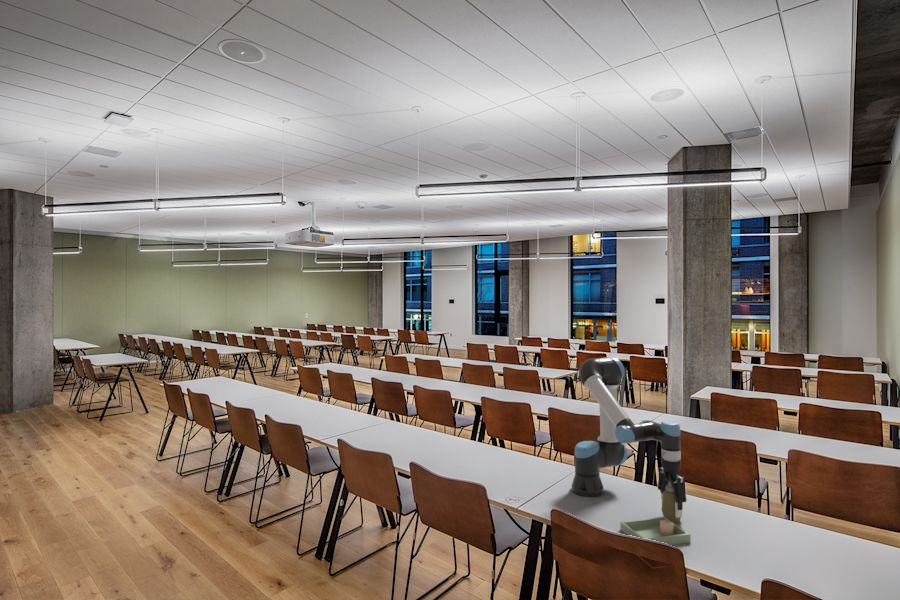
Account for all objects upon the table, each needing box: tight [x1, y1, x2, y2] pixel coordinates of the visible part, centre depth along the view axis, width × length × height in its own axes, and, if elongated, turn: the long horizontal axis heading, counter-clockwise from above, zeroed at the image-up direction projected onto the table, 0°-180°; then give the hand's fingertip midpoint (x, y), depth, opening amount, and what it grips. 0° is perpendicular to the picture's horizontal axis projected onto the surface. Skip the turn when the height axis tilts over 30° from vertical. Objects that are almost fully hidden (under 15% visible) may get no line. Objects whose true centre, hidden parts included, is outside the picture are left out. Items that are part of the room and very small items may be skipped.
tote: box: [619, 516, 691, 546], centre depth 195 cm, size 16×20×4 cm
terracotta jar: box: [660, 520, 675, 536], centre depth 196 cm, size 5×5×4 cm
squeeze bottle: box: [661, 481, 682, 523], centre depth 209 cm, size 8×8×18 cm
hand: (671, 512), depth 209 cm, fingers closed on squeeze bottle, 8 cm apart
